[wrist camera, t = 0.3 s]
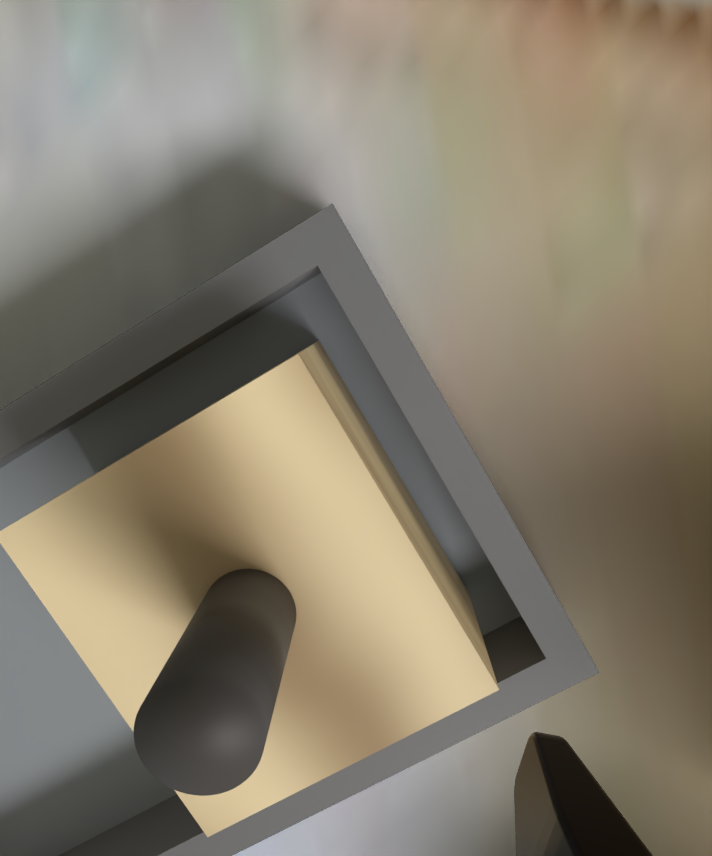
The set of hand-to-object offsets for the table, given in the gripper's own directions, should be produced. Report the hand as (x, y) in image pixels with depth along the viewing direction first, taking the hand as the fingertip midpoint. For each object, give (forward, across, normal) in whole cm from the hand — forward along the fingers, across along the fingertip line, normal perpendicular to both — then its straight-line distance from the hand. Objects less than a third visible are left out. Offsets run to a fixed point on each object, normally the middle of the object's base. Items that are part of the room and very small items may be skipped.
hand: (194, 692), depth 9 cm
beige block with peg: (+13, +1, +5) cm, 14 cm away
